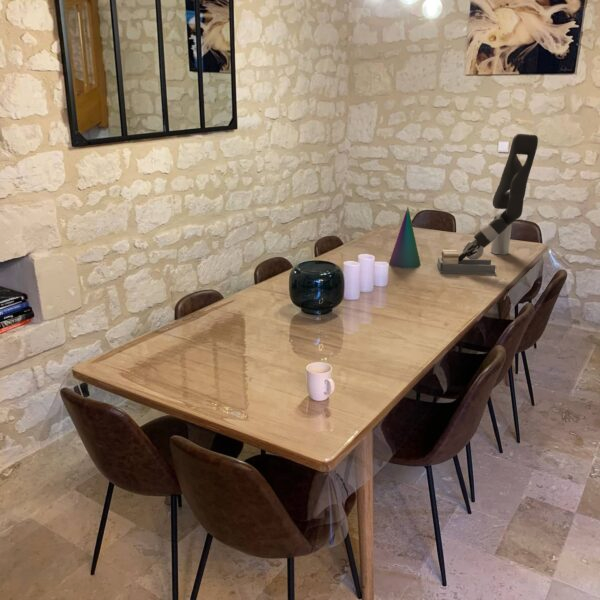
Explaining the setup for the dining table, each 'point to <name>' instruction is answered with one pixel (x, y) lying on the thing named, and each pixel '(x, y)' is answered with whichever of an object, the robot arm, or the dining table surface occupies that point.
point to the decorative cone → (405, 246)
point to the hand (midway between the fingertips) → (458, 259)
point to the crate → (450, 256)
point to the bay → (467, 267)
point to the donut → (476, 255)
